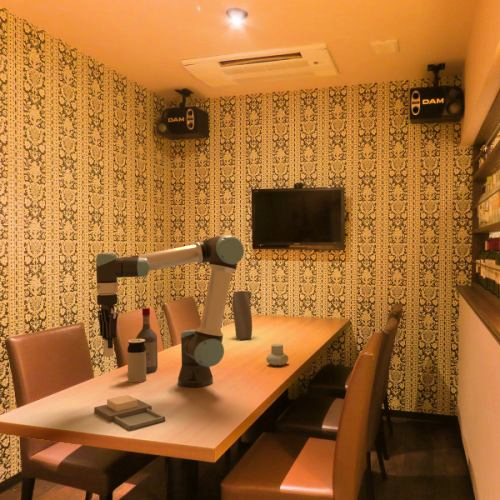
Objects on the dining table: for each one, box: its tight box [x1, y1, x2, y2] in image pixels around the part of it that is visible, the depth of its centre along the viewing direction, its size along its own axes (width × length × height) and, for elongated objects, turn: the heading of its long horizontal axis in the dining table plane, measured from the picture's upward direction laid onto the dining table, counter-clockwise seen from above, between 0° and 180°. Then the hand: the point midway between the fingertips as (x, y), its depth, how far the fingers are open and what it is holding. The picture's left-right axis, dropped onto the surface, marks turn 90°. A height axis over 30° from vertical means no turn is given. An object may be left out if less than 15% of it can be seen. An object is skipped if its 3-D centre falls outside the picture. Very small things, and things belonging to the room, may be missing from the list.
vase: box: [231, 290, 253, 341], centre depth 318 cm, size 12×12×30 cm
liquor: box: [135, 307, 159, 374], centre depth 241 cm, size 9×9×30 cm
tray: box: [113, 409, 166, 432], centre depth 171 cm, size 13×12×2 cm
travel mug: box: [126, 338, 147, 383], centre depth 223 cm, size 8×8×18 cm
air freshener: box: [266, 343, 289, 367], centre depth 248 cm, size 11×8×10 cm
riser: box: [93, 397, 153, 423], centre depth 181 cm, size 16×13×2 cm
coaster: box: [106, 394, 139, 411], centre depth 181 cm, size 8×8×2 cm
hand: (108, 356), depth 190 cm, fingers closed
